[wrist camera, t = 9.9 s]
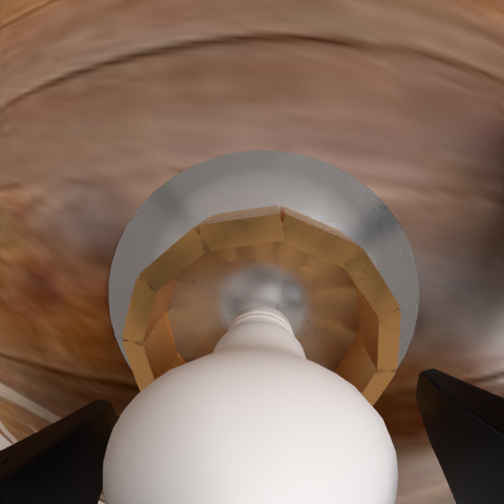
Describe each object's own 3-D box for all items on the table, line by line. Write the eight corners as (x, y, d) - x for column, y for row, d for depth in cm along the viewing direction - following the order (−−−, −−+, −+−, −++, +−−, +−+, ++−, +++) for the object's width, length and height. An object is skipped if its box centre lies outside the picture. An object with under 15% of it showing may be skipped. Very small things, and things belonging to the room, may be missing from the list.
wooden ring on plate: (400, 139, 12) (446, 127, 8) (400, 404, 15) (424, 451, 11) (91, 186, 13) (37, 191, 9) (160, 428, 16) (141, 476, 12)
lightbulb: (183, 368, 14) (93, 585, 3) (199, 240, 12) (-11, 461, 2) (311, 391, 14) (341, 616, 3) (350, 270, 12) (517, 510, 2)
